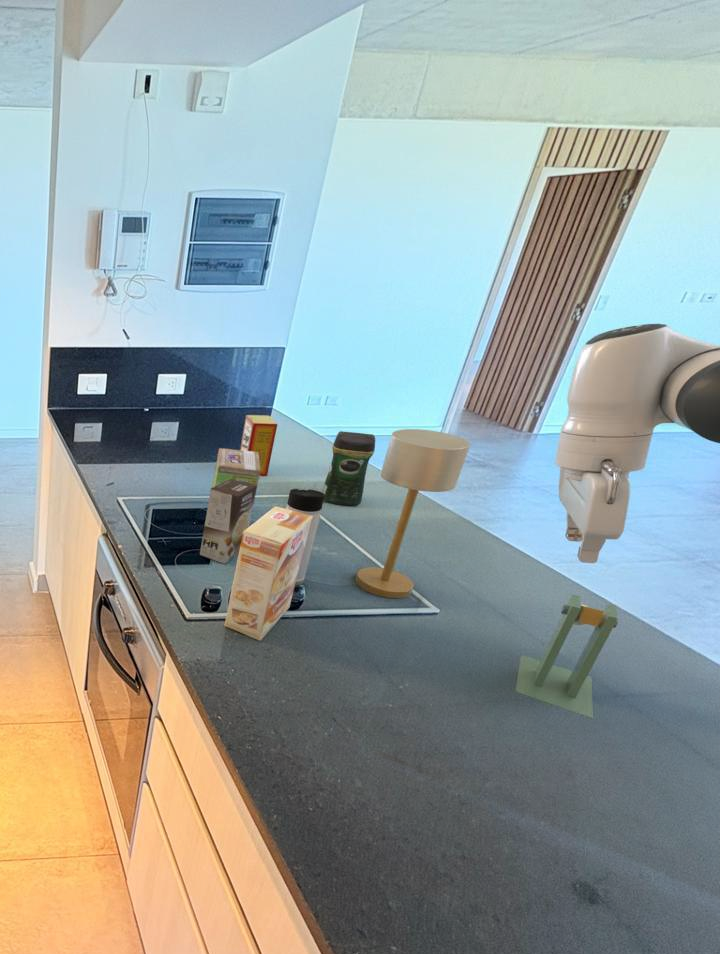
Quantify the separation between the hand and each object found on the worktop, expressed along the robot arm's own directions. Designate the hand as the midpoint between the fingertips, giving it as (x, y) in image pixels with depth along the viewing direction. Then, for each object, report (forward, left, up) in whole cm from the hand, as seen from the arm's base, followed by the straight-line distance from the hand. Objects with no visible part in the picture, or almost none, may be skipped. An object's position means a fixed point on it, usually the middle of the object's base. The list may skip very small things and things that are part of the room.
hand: (579, 550), depth 87 cm
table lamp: (0, -31, -24) cm, 39 cm away
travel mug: (+18, -36, -24) cm, 47 cm away
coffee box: (+26, -49, -24) cm, 60 cm away
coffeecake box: (+31, -24, -24) cm, 46 cm away
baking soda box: (-8, -99, -24) cm, 102 cm away
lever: (-7, -1, -14) cm, 16 cm away
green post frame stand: (-4, +2, -24) cm, 25 cm away
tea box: (+14, -70, -24) cm, 75 cm away
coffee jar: (-19, -73, -24) cm, 79 cm away
